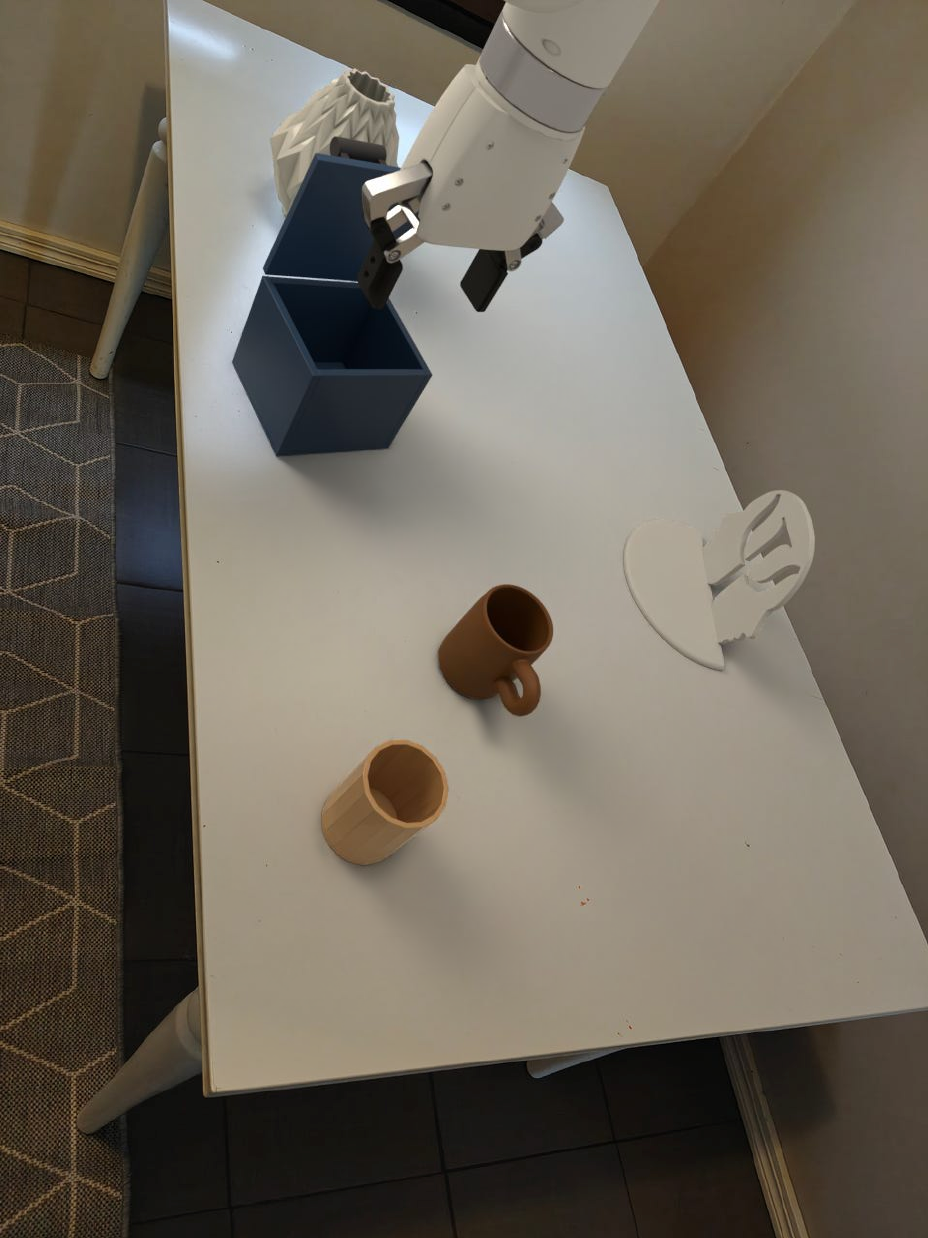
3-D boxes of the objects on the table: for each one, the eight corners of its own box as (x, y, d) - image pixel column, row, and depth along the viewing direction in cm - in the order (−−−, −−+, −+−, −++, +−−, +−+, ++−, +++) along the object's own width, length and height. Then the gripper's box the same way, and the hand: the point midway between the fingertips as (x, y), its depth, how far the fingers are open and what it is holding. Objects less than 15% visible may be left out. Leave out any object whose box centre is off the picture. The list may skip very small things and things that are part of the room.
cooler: (388, 448, 94) (433, 374, 85) (276, 456, 85) (313, 375, 77) (343, 362, 98) (381, 283, 89) (231, 361, 89) (262, 275, 81)
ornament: (723, 672, 101) (833, 598, 88) (631, 641, 96) (734, 558, 84) (698, 531, 113) (792, 450, 101) (616, 498, 109) (704, 407, 96)
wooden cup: (311, 849, 66) (354, 809, 60) (332, 772, 70) (374, 726, 64) (390, 876, 68) (440, 840, 61) (406, 799, 72) (454, 758, 66)
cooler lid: (448, 181, 79) (426, 136, 80) (318, 159, 70) (296, 109, 72) (384, 283, 89) (366, 241, 90) (265, 274, 81) (246, 229, 82)
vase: (235, 172, 107) (279, 21, 93) (350, 195, 116) (406, 61, 103) (274, 264, 101) (327, 117, 87) (392, 280, 110) (456, 150, 97)
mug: (523, 744, 81) (579, 701, 74) (454, 746, 77) (505, 701, 70) (494, 634, 87) (542, 584, 80) (428, 631, 83) (473, 578, 76)
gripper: (603, 65, 58) (484, 267, 71) (398, 4, 48) (301, 255, 60) (661, 139, 56) (528, 334, 69) (459, 92, 45) (345, 333, 58)
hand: (422, 297), depth 64 cm, fingers open, 9 cm apart
